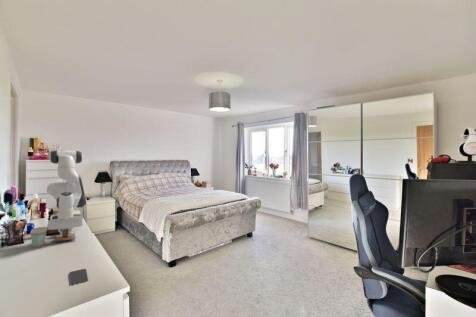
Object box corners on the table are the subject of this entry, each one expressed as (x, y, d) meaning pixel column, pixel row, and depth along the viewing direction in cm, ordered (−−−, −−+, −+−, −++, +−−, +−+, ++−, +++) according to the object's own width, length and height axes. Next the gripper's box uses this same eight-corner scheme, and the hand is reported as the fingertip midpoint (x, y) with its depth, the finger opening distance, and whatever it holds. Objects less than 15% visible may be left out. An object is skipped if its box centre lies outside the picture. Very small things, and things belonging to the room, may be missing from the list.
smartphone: (69, 285, 102) (68, 272, 114) (69, 287, 102) (68, 273, 114) (88, 280, 107) (86, 268, 118) (88, 282, 107) (86, 269, 118)
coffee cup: (36, 249, 144) (37, 230, 144) (26, 248, 146) (26, 229, 146) (49, 244, 152) (50, 227, 153) (39, 243, 154) (40, 226, 154)
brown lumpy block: (48, 237, 167) (49, 210, 168) (40, 233, 175) (41, 208, 176) (71, 232, 180) (72, 207, 181) (63, 229, 188) (64, 205, 188)
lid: (56, 237, 162) (56, 228, 162) (74, 234, 168) (75, 226, 168) (54, 241, 153) (54, 233, 153) (74, 238, 159) (74, 230, 159)
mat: (55, 239, 163) (55, 239, 163) (75, 236, 169) (75, 236, 169) (53, 245, 151) (53, 245, 151) (75, 242, 158) (75, 241, 158)
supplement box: (77, 233, 178) (78, 217, 178) (70, 236, 170) (70, 219, 171) (69, 233, 179) (69, 217, 179) (61, 235, 171) (61, 219, 172)
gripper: (83, 212, 169) (82, 230, 169) (48, 215, 158) (47, 235, 158) (83, 214, 164) (82, 233, 164) (47, 217, 153) (46, 237, 152)
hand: (65, 234), depth 161 cm, fingers closed on lid, 3 cm apart
